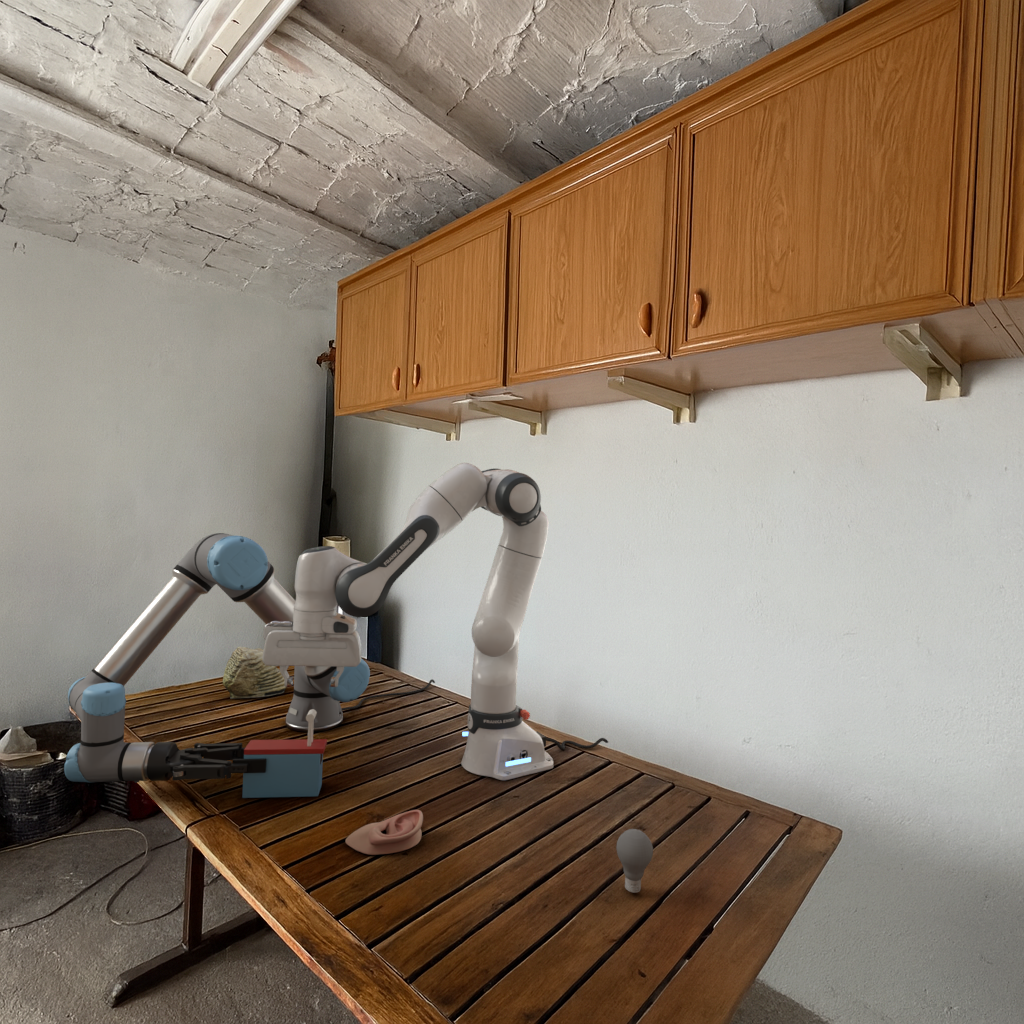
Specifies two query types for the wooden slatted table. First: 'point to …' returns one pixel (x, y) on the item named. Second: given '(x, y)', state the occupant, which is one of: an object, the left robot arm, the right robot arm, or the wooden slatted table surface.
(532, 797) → the wooden slatted table surface
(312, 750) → the lid
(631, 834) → the light bulb
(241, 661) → the fossil
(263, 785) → the chest
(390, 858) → the wooden slatted table surface
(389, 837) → the anatomical model
